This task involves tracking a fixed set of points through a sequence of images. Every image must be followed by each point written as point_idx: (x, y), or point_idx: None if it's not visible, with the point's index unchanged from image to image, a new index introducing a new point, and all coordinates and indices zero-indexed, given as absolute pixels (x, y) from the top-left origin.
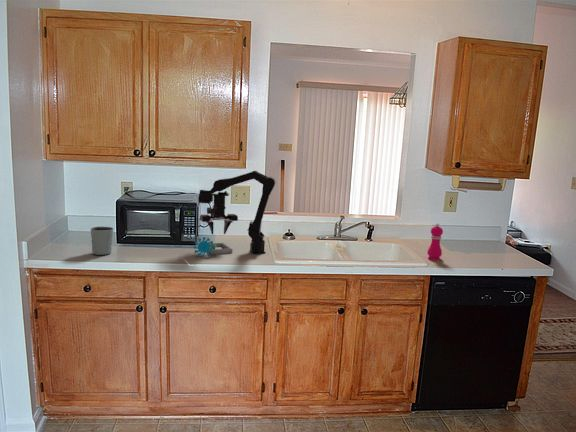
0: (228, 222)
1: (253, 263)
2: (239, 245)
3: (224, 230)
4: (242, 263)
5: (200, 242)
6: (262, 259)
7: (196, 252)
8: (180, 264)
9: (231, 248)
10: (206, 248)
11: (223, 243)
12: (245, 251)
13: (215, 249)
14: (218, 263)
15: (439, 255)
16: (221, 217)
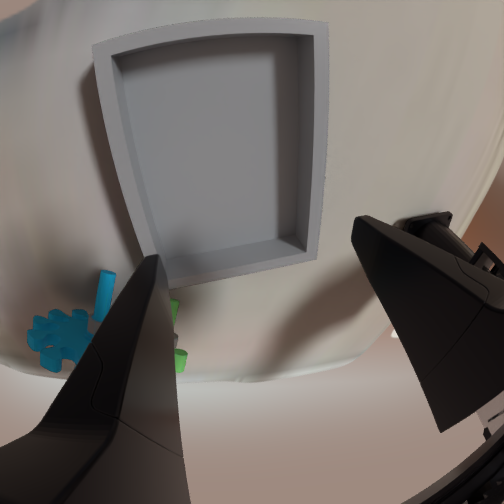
0: (444, 418)
1: (312, 360)
2: (431, 27)
3: (382, 272)
4: (275, 366)
5: (66, 355)
6: (371, 319)
7: (62, 315)
8: (50, 375)
9: (314, 250)
10: None
11: (320, 55)
12: (397, 190)
13: (183, 278)
14: (183, 374)
15: None
16: (482, 498)
